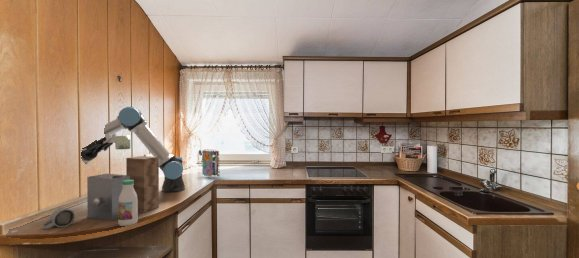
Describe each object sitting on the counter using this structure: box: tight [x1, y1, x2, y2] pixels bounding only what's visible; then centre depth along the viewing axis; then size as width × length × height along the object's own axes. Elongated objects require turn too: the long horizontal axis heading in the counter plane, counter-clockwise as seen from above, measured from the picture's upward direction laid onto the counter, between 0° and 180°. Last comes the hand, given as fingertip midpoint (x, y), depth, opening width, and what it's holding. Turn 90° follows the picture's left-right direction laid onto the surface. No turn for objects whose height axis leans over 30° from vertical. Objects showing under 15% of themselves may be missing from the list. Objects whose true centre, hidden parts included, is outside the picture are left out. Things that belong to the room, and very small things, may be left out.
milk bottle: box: [117, 180, 139, 227], centre depth 128 cm, size 8×8×20 cm
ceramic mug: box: [42, 207, 76, 230], centre depth 125 cm, size 11×8×8 cm
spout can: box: [101, 135, 131, 150], centre depth 153 cm, size 7×18×7 cm, turn 71°
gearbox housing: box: [86, 173, 130, 222], centre depth 137 cm, size 12×16×20 cm
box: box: [198, 148, 221, 179], centre depth 243 cm, size 25×6×24 cm, turn 55°
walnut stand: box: [125, 155, 160, 213], centre depth 151 cm, size 10×12×28 cm
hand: (113, 135), depth 154 cm, fingers closed on spout can, 2 cm apart
